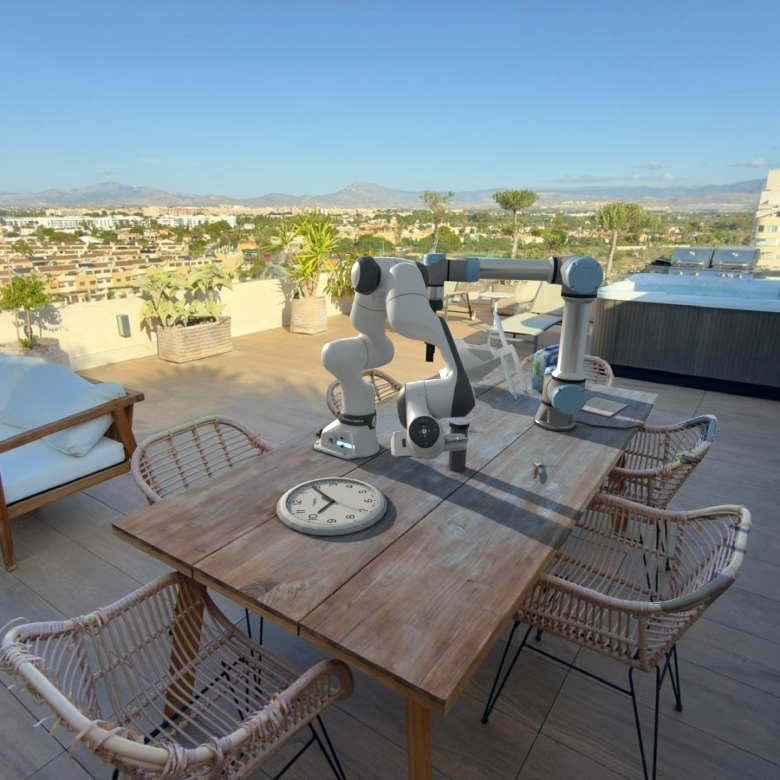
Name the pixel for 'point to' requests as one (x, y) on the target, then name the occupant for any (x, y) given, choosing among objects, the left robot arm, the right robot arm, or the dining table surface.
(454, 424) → the lid
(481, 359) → the white plastic object
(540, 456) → the fork
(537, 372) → the lunch box
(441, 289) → the right robot arm
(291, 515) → the wall clock
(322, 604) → the dining table surface
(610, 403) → the invitation card
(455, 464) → the jar
